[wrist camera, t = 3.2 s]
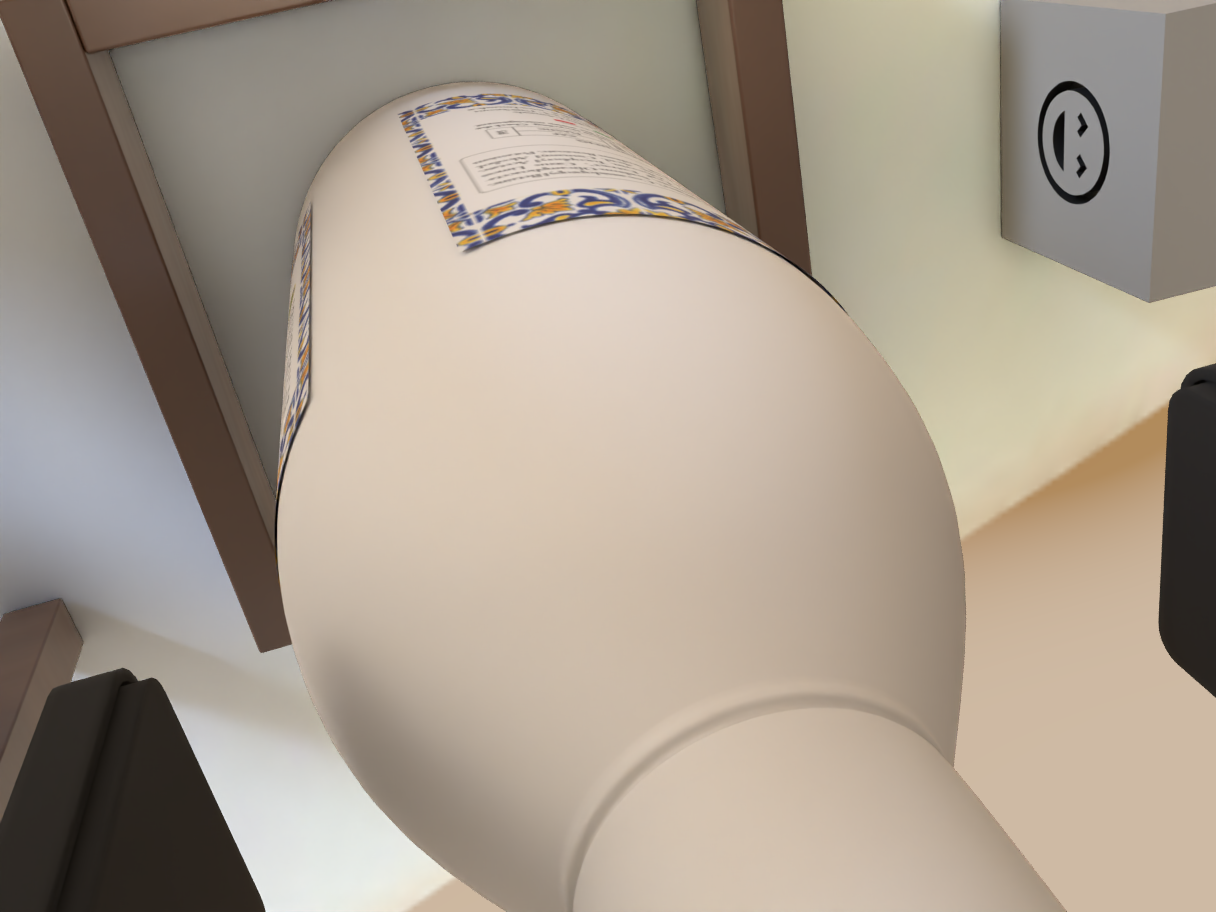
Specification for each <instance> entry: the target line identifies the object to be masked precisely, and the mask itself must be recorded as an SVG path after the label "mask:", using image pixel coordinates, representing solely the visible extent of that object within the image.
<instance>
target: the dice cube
mask: <svg viewBox="0 0 1216 912" xmlns="http://www.w3.org/2000/svg"><path fill="white" fill-rule="evenodd" d="M1001 162H1002V238H1005V239H1007V240H1009V241H1011V242H1014V243H1016V244H1018V245H1020V246H1022V247H1025V248H1027V249H1029V250H1031V251H1034V252H1036V253H1038V254H1040V255H1043V256H1045V257H1047V258H1049V259H1052V260H1054V261H1056V262H1058V263H1061V264H1063V265H1065V266H1067V267H1070V268H1072V269H1074V270H1076V271H1079V272H1081V273H1083V274H1085V275H1088V276H1090V277H1092V278H1094V279H1097V280H1099V281H1101V282H1103V283H1106V284H1108V285H1110V286H1112V287H1115V288H1117V289H1119V290H1121V291H1124V292H1126V293H1128V294H1130V295H1133V296H1135V297H1137V298H1139V299H1142V300H1144V301H1146V302H1148V303H1151V302H1155V301H1158V300H1162V299H1166V298H1170V297H1174V296H1178V295H1182V294H1186V293H1190V292H1194V291H1198V290H1202V289H1206V288H1210V287H1214V286H1216V0H1001Z"/></svg>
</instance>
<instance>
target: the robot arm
mask: <svg viewBox="0 0 1216 912" xmlns="http://www.w3.org/2000/svg"><path fill="white" fill-rule="evenodd" d="M1161 558H1162V559H1161V580H1160V601H1159V631H1160V636H1161V639H1162V642H1163V644H1164V646H1165V648H1166V650H1167V652H1168V653H1169V655H1170V656H1171V658H1172V659H1173V660H1174V661H1175V662H1176V663H1177V664H1178V665H1179V666H1180V667H1181V668H1183V669H1184V670H1185V671H1186V672H1187V673H1188V674H1189V675H1191V676H1192V677H1193V678H1194V679H1195V680H1196V681H1197V682H1199V683H1200V684H1201V685H1202V686H1203V687H1204V688H1205V689H1207V690H1208V691H1209V692H1210V693H1211V694H1212V695H1213V696H1215V697H1216V364H1212V365H1208V366H1205V367H1201V368H1198V369H1194V370H1192V371H1191V372H1190V373H1189V374H1187V375H1186V377H1185V379H1184V380H1183V382H1182V384H1181V389H1180V390H1178V391H1176V392H1175V393H1174V394H1173V395H1172V397H1171V399H1170V402H1169V408H1168V425H1167V448H1166V470H1165V491H1164V513H1163V535H1162V557H1161ZM0 912H266V911H265V908H264V904H263V902H262V899H261V896H260V894H259V892H258V890H257V888H256V886H255V883H254V881H253V879H252V877H251V875H250V873H249V871H248V868H247V866H246V864H245V862H244V860H243V858H242V856H241V853H240V851H239V849H238V847H237V845H236V843H235V840H234V838H233V836H232V834H231V832H230V830H229V828H228V825H227V823H226V821H225V819H224V817H223V815H222V813H221V810H220V808H219V806H218V804H217V802H216V800H215V798H214V795H213V793H212V791H211V789H210V787H209V785H208V783H207V780H206V778H205V776H204V774H203V772H202V770H201V767H200V765H199V763H198V761H197V759H196V757H195V755H194V752H193V750H192V748H191V746H190V744H189V742H188V740H187V737H186V735H185V733H184V731H183V729H182V727H181V725H180V722H179V720H178V718H177V716H176V714H175V712H174V710H173V707H172V705H171V703H170V701H169V699H168V697H167V694H166V692H165V691H164V689H163V687H162V685H161V684H160V683H159V682H158V680H157V679H154V678H149V679H145V680H142V681H138V680H137V679H136V677H135V676H134V675H133V674H132V673H131V672H130V671H129V670H127V669H125V668H121V669H117V670H114V671H110V672H107V673H103V674H99V675H96V676H92V677H89V678H85V679H81V680H78V681H74V682H71V683H67V684H64V685H60V686H57V687H55V688H53V689H52V690H51V692H50V693H49V695H48V697H47V699H46V702H45V705H44V708H43V710H42V713H41V716H40V718H39V721H38V724H37V726H36V729H35V732H34V734H33V737H32V740H31V742H30V745H29V748H28V750H27V753H26V756H25V758H24V761H23V764H22V766H21V769H20V772H19V774H18V777H17V780H16V782H15V785H14V788H13V790H12V793H11V796H10V798H9V801H8V804H7V806H6V809H5V812H4V814H3V817H2V820H1V822H0Z"/></svg>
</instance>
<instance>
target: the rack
mask: <svg viewBox="0 0 1216 912" xmlns="http://www.w3.org/2000/svg"><path fill="white" fill-rule="evenodd" d="M328 1H333V0H0V18H1V20H2V23H3V25H4V28H5V30H6V33H7V35H8V38H9V40H10V42H11V45H12V47H13V50H14V52H15V55H16V57H17V60H18V62H19V64H20V67H21V69H22V72H23V74H24V77H25V79H26V82H27V84H28V86H29V89H30V91H31V94H32V96H33V99H34V101H35V104H36V106H37V108H38V111H39V113H40V116H41V118H42V121H43V123H44V126H45V128H46V130H47V133H48V135H49V138H50V140H51V143H52V145H53V148H54V150H55V153H56V155H57V157H58V160H59V162H60V165H61V167H62V170H63V172H64V175H65V177H66V179H67V182H68V184H69V187H70V189H71V192H72V194H73V197H74V199H75V201H76V204H77V206H78V209H79V211H80V214H81V216H82V219H83V221H84V223H85V226H86V228H87V231H88V233H89V236H90V238H91V241H92V243H93V246H94V248H95V250H96V253H97V255H98V258H99V260H100V263H101V265H102V268H103V270H104V272H105V275H106V277H107V280H108V282H109V285H110V287H111V290H112V292H113V294H114V297H115V299H116V302H117V304H118V307H119V309H120V312H121V314H122V316H123V319H124V321H125V324H126V326H127V329H128V331H129V334H130V336H131V339H132V341H133V343H134V346H135V348H136V351H137V353H138V356H139V358H140V361H141V363H142V365H143V368H144V370H145V373H146V375H147V378H148V380H149V383H150V385H151V387H152V390H153V392H154V395H155V397H156V400H157V402H158V405H159V407H160V409H161V412H162V414H163V417H164V419H165V422H166V424H167V427H168V429H169V432H170V434H171V436H172V439H173V441H174V444H175V446H176V449H177V451H178V454H179V456H180V458H181V461H182V463H183V466H184V468H185V471H186V473H187V476H188V478H189V480H190V483H191V485H192V488H193V490H194V493H195V495H196V498H197V500H198V502H199V505H200V507H201V510H202V512H203V515H204V517H205V520H206V522H207V524H208V527H209V529H210V532H211V534H212V537H213V539H214V542H215V544H216V547H217V549H218V551H219V554H220V556H221V559H222V561H223V564H224V566H225V569H226V571H227V573H228V576H229V578H230V581H231V583H232V586H233V588H234V591H235V593H236V595H237V598H238V600H239V603H240V605H241V608H242V610H243V613H244V615H245V617H246V620H247V622H248V625H249V627H250V630H251V632H252V635H253V637H254V640H255V642H256V644H257V647H258V649H259V651H260V652H261V653H263V652H267V651H270V650H274V649H277V648H281V647H284V646H287V645H291V644H292V641H291V637H290V633H289V629H288V625H287V621H286V617H285V612H284V606H283V600H282V594H281V590H280V585H279V580H278V574H277V568H276V559H275V544H274V524H275V508H276V500H275V497H274V495H273V492H272V489H271V487H270V484H269V481H268V479H267V476H266V473H265V471H264V468H263V465H262V462H261V460H260V457H259V454H258V452H257V449H256V446H255V444H254V441H253V438H252V436H251V433H250V430H249V428H248V425H247V422H246V419H245V417H244V414H243V411H242V409H241V406H240V403H239V401H238V398H237V395H236V393H235V390H234V387H233V385H232V382H231V379H230V376H229V374H228V371H227V368H226V366H225V363H224V360H223V358H222V355H221V352H220V350H219V347H218V344H217V342H216V339H215V336H214V333H213V331H212V328H211V325H210V323H209V320H208V317H207V315H206V312H205V309H204V307H203V304H202V301H201V299H200V296H199V293H198V290H197V288H196V285H195V282H194V280H193V277H192V274H191V272H190V269H189V266H188V264H187V261H186V258H185V255H184V253H183V250H182V247H181V245H180V242H179V239H178V237H177V234H176V231H175V229H174V226H173V223H172V221H171V218H170V215H169V212H168V210H167V207H166V204H165V202H164V199H163V196H162V194H161V191H160V188H159V186H158V183H157V180H156V178H155V175H154V172H153V169H152V167H151V164H150V161H149V159H148V156H147V153H146V151H145V148H144V145H143V143H142V140H141V137H140V135H139V132H138V129H137V126H136V124H135V121H134V118H133V116H132V113H131V110H130V108H129V105H128V102H127V100H126V97H125V94H124V92H123V89H122V86H121V83H120V81H119V78H118V75H117V73H116V70H115V67H114V65H113V62H112V59H111V57H110V54H109V51H108V50H110V49H114V48H119V47H124V46H128V45H133V44H137V43H142V42H146V41H151V40H155V39H160V38H165V37H169V36H174V35H178V34H183V33H187V32H192V31H196V30H201V29H205V28H210V27H215V26H219V25H224V24H228V23H233V22H237V21H242V20H246V19H251V18H256V17H260V16H265V15H269V14H274V13H278V12H283V11H287V10H292V9H297V8H301V7H306V6H310V5H315V4H319V3H324V2H328ZM696 2H697V9H698V16H699V23H700V30H701V37H702V45H703V52H704V59H705V66H706V73H707V80H708V87H709V94H710V101H711V108H712V115H713V122H714V129H715V137H716V144H717V151H718V158H719V165H720V172H721V179H722V186H723V193H724V200H725V207H726V214H727V217H729V218H730V219H731V220H733V221H734V222H736V223H737V224H739V225H740V226H742V227H743V228H744V229H746V230H747V231H749V232H750V233H752V234H753V235H754V236H756V237H757V238H759V239H760V240H762V241H763V242H764V243H766V244H767V245H769V246H770V247H772V248H773V249H775V250H776V251H777V252H779V253H780V254H782V255H783V256H785V257H786V258H787V259H789V260H790V261H792V262H793V263H795V264H796V265H798V266H799V267H800V268H802V269H803V270H804V271H806V272H807V273H808V274H810V275H811V276H812V271H811V261H810V252H809V243H808V234H807V225H806V215H805V206H804V197H803V188H802V179H801V169H800V160H799V151H798V142H797V132H796V123H795V114H794V105H793V96H792V86H791V77H790V68H789V59H788V50H787V40H786V31H785V22H784V13H783V4H782V0H696ZM82 646H83V641H82V639H81V637H80V635H79V633H78V631H77V629H76V627H75V625H74V623H73V621H72V619H71V617H70V615H69V613H68V611H67V609H66V607H65V605H64V603H63V601H62V599H56V600H53V601H49V602H45V603H42V604H38V605H35V606H31V607H27V608H24V609H20V610H17V611H13V612H9V613H6V614H4V615H3V616H2V619H1V621H0V822H1V820H2V817H3V814H4V812H5V809H6V806H7V804H8V801H9V798H10V796H11V793H12V790H13V788H14V785H15V782H16V780H17V777H18V774H19V772H20V769H21V766H22V764H23V761H24V758H25V756H26V753H27V750H28V748H29V745H30V742H31V740H32V737H33V734H34V732H35V729H36V726H37V724H38V721H39V718H40V716H41V713H42V710H43V708H44V705H45V702H46V699H47V697H48V695H49V693H50V692H51V690H52V689H53V688H55V687H57V686H60V685H64V684H67V683H71V680H72V677H73V674H74V671H75V668H76V665H77V662H78V658H79V655H80V652H81V649H82Z"/></svg>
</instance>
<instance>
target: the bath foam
mask: <svg viewBox="0 0 1216 912" xmlns="http://www.w3.org/2000/svg"><path fill="white" fill-rule="evenodd" d="M274 544H275V559H276V568H277V574H278V580H279V585H280V590H281V594H282V600H283V606H284V612H285V617H286V621H287V625H288V629H289V633H290V637H291V641H292V645H293V649H294V652H295V655H296V658H297V662H298V664H299V667H300V670H301V673H302V676H303V679H304V681H305V684H306V687H307V689H308V692H309V695H310V697H311V699H312V701H313V704H314V706H315V708H316V710H317V712H318V714H319V716H320V718H321V720H322V722H323V724H324V726H325V729H326V731H327V732H328V734H329V736H330V738H331V740H332V742H333V744H334V745H335V747H336V749H337V750H338V752H339V754H340V755H341V757H342V758H343V760H344V761H345V763H346V764H347V765H348V767H349V768H350V770H351V771H352V773H353V774H354V776H355V777H356V779H357V780H358V782H359V783H360V784H361V786H362V787H363V789H364V790H365V791H366V793H367V794H368V795H369V796H370V798H371V799H372V800H373V801H374V802H375V803H376V805H377V806H378V807H379V808H380V809H381V810H382V811H383V812H384V813H385V814H386V815H387V817H388V818H389V819H390V820H391V821H392V822H393V823H394V824H395V825H396V826H397V827H398V828H399V829H400V830H401V831H402V832H403V833H404V834H405V835H406V836H407V837H408V838H409V839H410V840H411V841H412V842H413V843H414V844H415V845H416V846H418V847H419V848H420V849H421V850H422V851H424V852H425V853H426V854H427V855H428V856H430V857H431V858H432V859H433V860H434V861H436V862H437V863H438V864H439V865H440V866H442V867H443V868H444V869H445V870H447V871H448V872H449V873H450V874H452V875H453V876H454V877H456V878H457V879H459V880H460V881H461V882H463V883H464V884H466V885H467V886H469V887H470V888H471V889H473V890H474V891H476V892H477V893H479V894H480V895H481V896H483V897H484V898H486V899H487V900H489V901H490V902H492V903H494V904H495V905H497V906H498V907H500V908H501V909H503V910H505V911H506V912H1067V911H1066V910H1065V909H1064V907H1063V906H1062V905H1061V903H1060V902H1059V901H1058V899H1057V898H1056V897H1055V896H1054V895H1053V893H1052V892H1051V890H1050V889H1049V888H1048V886H1047V885H1046V884H1045V883H1044V881H1043V880H1042V879H1041V878H1040V876H1039V875H1038V874H1037V872H1036V871H1035V870H1034V868H1033V867H1032V866H1031V865H1030V863H1029V862H1028V861H1027V859H1026V858H1025V857H1024V855H1023V854H1022V853H1021V852H1020V850H1019V849H1018V848H1017V846H1016V845H1015V844H1014V843H1013V841H1012V840H1011V839H1010V837H1009V836H1008V835H1007V834H1006V832H1005V831H1004V830H1003V828H1002V827H1001V826H1000V825H999V823H998V822H997V821H996V820H995V818H994V817H993V816H992V815H991V813H990V812H989V811H988V809H987V808H986V807H985V806H984V804H983V803H982V802H981V801H980V799H979V798H978V797H977V796H976V794H975V793H974V792H973V791H972V790H971V788H970V787H969V786H968V785H967V783H966V782H965V781H964V780H963V779H962V778H961V776H960V775H959V774H958V773H957V771H955V769H954V768H953V767H954V758H955V749H956V740H957V731H958V721H959V711H960V702H961V690H962V680H963V668H964V654H965V632H966V602H965V574H964V562H963V555H962V549H961V542H960V535H959V529H958V522H957V517H956V512H955V507H954V503H953V500H952V496H951V493H950V489H949V486H948V483H947V480H946V477H945V474H944V471H943V468H942V465H941V462H940V459H939V456H938V453H937V451H936V448H935V446H934V444H933V442H932V439H931V437H930V435H929V433H928V431H927V429H926V427H925V425H924V423H923V421H922V419H921V417H920V415H919V413H918V411H917V409H916V407H915V405H914V404H913V402H912V400H911V398H910V397H909V395H908V394H907V392H906V391H905V389H904V388H903V386H902V385H901V383H900V381H899V380H898V378H897V377H896V375H895V374H894V372H893V371H892V369H891V368H890V366H889V365H888V364H887V362H886V361H885V360H884V358H883V357H882V355H881V354H880V353H879V352H878V350H877V349H876V348H875V347H874V345H873V344H872V343H871V342H870V340H869V339H868V338H867V337H866V335H865V334H864V333H863V332H862V330H861V329H860V328H859V327H858V326H857V325H856V323H855V322H854V321H853V320H852V319H851V318H850V317H849V315H848V314H847V313H846V311H845V310H844V309H843V308H842V306H841V305H840V304H839V303H838V301H837V300H836V299H835V298H834V297H833V296H832V295H831V294H830V293H829V292H828V291H827V290H826V289H825V288H824V287H823V286H822V285H821V284H820V283H819V282H818V281H817V280H816V279H814V278H813V277H812V276H811V275H810V274H808V273H807V272H806V271H804V270H803V269H802V268H800V267H799V266H798V265H796V264H795V263H793V262H792V261H790V260H789V259H787V258H786V257H785V256H783V255H782V254H780V253H779V252H777V251H776V250H775V249H773V248H772V247H770V246H769V245H767V244H766V243H764V242H763V241H762V240H760V239H759V238H757V237H756V236H754V235H753V234H752V233H750V232H749V231H747V230H746V229H744V228H743V227H742V226H740V225H739V224H737V223H736V222H734V221H733V220H731V219H730V218H729V217H727V216H726V215H724V214H723V213H721V212H720V211H719V210H717V209H716V208H714V207H713V206H711V205H710V204H708V203H707V202H706V201H704V200H703V199H701V198H700V197H698V196H697V195H696V194H694V193H693V192H691V191H690V190H688V189H687V188H685V187H684V186H683V185H681V184H680V183H678V182H677V181H675V180H674V179H673V178H671V177H670V176H668V175H667V174H665V173H664V172H663V171H661V170H660V169H658V168H657V167H655V166H654V165H652V164H651V163H650V162H648V161H647V160H645V159H644V158H642V157H641V156H640V155H638V154H637V153H635V152H634V151H632V150H631V149H629V148H628V147H627V146H625V145H624V144H622V143H621V142H619V141H618V140H617V139H615V138H614V137H612V136H611V135H609V134H608V133H606V132H605V131H604V130H602V129H601V128H599V127H598V126H596V125H595V124H593V123H592V122H590V121H588V120H587V119H585V118H583V117H582V116H580V115H579V114H577V113H576V112H574V111H572V110H571V109H569V108H568V107H566V106H564V105H562V104H560V103H559V102H557V101H555V100H553V99H550V98H548V97H546V96H544V95H541V94H539V93H536V92H533V91H530V90H527V89H523V88H520V87H516V86H511V85H506V84H500V83H492V82H456V83H448V84H442V85H437V86H432V87H428V88H425V89H421V90H418V91H415V92H412V93H410V94H407V95H404V96H402V97H400V98H398V99H395V100H394V101H392V102H390V103H388V104H386V105H384V106H382V107H381V108H379V109H377V110H376V111H374V112H373V113H371V114H370V115H369V116H367V117H366V118H365V119H363V120H362V121H361V122H360V123H358V124H357V125H356V126H355V127H354V128H353V129H351V130H350V131H349V132H348V133H347V134H346V135H345V136H344V137H343V138H342V139H341V140H340V142H339V143H338V144H337V145H336V146H335V147H334V149H333V150H332V151H331V152H330V154H329V155H328V157H327V158H326V159H325V161H324V162H323V164H322V165H321V167H320V169H319V170H318V172H317V174H316V176H315V178H314V179H313V181H312V183H311V186H310V188H309V190H308V192H307V195H306V198H305V200H304V203H303V206H302V209H301V213H300V216H299V220H298V225H297V230H296V236H295V245H294V256H293V262H292V271H291V285H290V300H289V314H288V329H287V344H286V359H285V374H284V389H283V404H282V419H281V433H280V448H279V463H278V478H277V493H276V508H275V524H274Z"/></svg>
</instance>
